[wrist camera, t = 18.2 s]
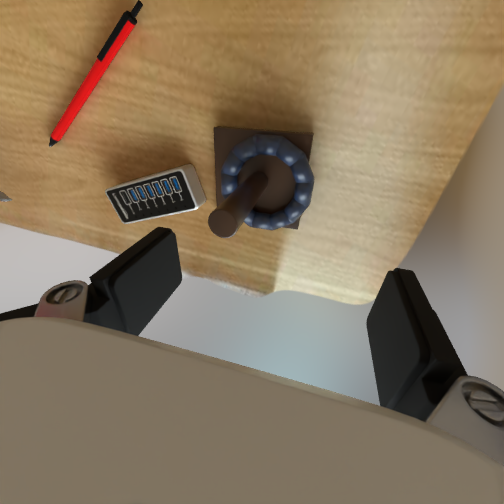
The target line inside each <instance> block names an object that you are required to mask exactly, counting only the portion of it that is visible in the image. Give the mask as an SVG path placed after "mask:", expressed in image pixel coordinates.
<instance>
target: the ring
mask: <svg viewBox="0 0 504 504" xmlns="http://www.w3.org/2000/svg"><path fill="white" fill-rule="evenodd" d="M259 154H261V155H272V156H276V157H278V158H279V159H280V160H282V161H283V162H284V163H286V164H287V165H288V166H290V169H291V171H292V174H293V176H294V179H295V181H296V185H295V192H294V198H293V199H292V200H291V202H290V203H289V204H288V205H287V207H286V208H285V209H283V210H281V211H278V212H275V213H273V214H267V213H259V212H256V211H254V210H253V209H252V210H251V212H250V213H249V215H248V216H247V217H246V219H245V220H244V223H246V224H247V225H249V226H250V227H254V228H261V229H267V230H275V229H278V228H281V227H284V226H286V225H289V224H292V223H294V222H295V221H296V220H297V219H298V218H299V217H300V215H301V214H302V213H303V212H304V211H305V210H306V208H307V207H308V206H309V205H310V202H311V196H312V191H313V185H314V175H313V173H312V170H311V167H310V165H309V162H308V160H307V157H306V155H305V153H304V152H303V151H302V150H301V149H299V148H298V147H297V146H295V145H294V144H293V143H291V142H290V141H289V140H288V139H286V138H285V137H283V136H278V135H264V134H255V135H253V136H251V137H249V138H247V139H246V140H244V141H242V142H240V143H239V144H237V145H235V146H234V147H233V148H232V149H231V151H230V153H229V154H228V156H227V158H226V160H225V162H224V164H223V166H222V168H221V193H222V196H223V198H224V200H225V199H226V198H227V197H228V196H229V195H230V194H231V193H232V192H233V191H234V190H235V189H237V175H238V173H239V171H240V169H241V168H242V166H243V164H244V163H245V161H247V160H249V159H251V158H253V157H255V156H257V155H259Z"/></svg>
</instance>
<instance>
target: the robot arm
mask: <svg viewBox="0 0 504 504" xmlns="http://www.w3.org/2000/svg"><path fill="white" fill-rule="evenodd" d="M89 278H90V280H91V282H92V283H91V284H90V285H87V284H86V283H85V282H83V281H78V280H77V281H76V280H74V281H68V282H64V283H60V284H58V285H56V286H54V287H52V288H51V289H49V290H48V291H46V292H45V293H44V294H43V296H42V297H41V299H40V302H39V303H38V304H34V305H31V306H27V307H24V308H20V309H16V310H12V311H8V312H5V313H1V314H0V504H504V392H503V391H502V390H501V389H499V388H498V387H497V386H495V385H493V384H491V383H490V382H488V381H486V380H483V379H481V378H478V377H474V376H468V375H467V373H466V371H465V369H464V367H463V365H462V363H461V361H460V359H459V357H458V355H457V354H456V351H455V349H454V348H453V345H452V344H451V342H450V340H449V338H448V336H447V334H446V332H445V330H444V328H443V326H442V324H441V322H440V320H439V318H438V316H437V314H436V312H435V311H434V310H433V309H432V307H431V305H430V304H429V301H428V299H427V297H426V295H425V293H424V291H423V289H422V287H421V286H420V283H419V281H418V280H417V278H416V275H415V273H414V272H413V271H411V270H405V269H400V268H395V269H394V270H393V271H388V273H387V275H386V277H385V279H384V282H383V284H382V286H381V288H380V291H379V293H378V295H377V297H376V299H375V302H374V304H373V306H372V309H371V311H370V313H369V315H368V318H367V331H368V337H369V343H370V348H371V354H372V360H373V366H374V372H375V378H376V383H377V389H378V395H379V401H380V406H378V405H375V404H372V403H369V402H365V401H362V400H359V399H355V398H352V397H349V396H346V395H342V394H339V393H336V392H332V391H329V390H325V389H322V388H318V387H315V386H312V385H308V384H305V383H301V382H298V381H294V380H291V379H288V378H284V377H281V376H277V375H274V374H270V373H267V372H263V371H260V370H256V369H253V368H249V367H246V366H242V365H239V364H235V363H232V362H228V361H225V360H221V359H218V358H214V357H210V356H207V355H204V354H200V353H196V352H193V351H189V350H186V349H182V348H179V347H175V346H171V345H168V344H164V343H161V342H157V341H154V340H150V339H146V338H143V337H139V336H138V335H139V334H140V333H141V332H142V330H143V329H144V328H145V327H146V325H147V324H148V323H149V322H150V321H151V319H152V318H153V317H154V316H155V314H156V313H157V312H158V311H159V309H160V308H161V307H162V305H163V304H164V303H165V302H166V301H167V300H168V298H169V297H170V296H171V294H172V293H173V292H174V291H175V289H176V288H177V287H178V286H179V285H180V283H181V281H182V273H181V267H180V261H179V254H178V248H177V242H176V235H175V233H174V232H172V230H171V229H169V228H163V227H157V228H156V229H154V230H153V231H151V232H150V233H149V234H147V235H146V236H145V237H143V238H142V239H141V240H139V241H138V242H137V243H135V244H134V245H132V246H131V247H130V248H128V249H127V250H126V251H124V252H123V253H122V254H120V255H119V256H118V257H116V258H115V259H114V260H112V261H111V262H110V263H108V264H107V265H105V266H104V267H103V268H101V269H100V270H99V271H97V272H96V273H95V274H93V275H92V276H91V277H89Z"/></svg>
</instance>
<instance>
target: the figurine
mask: <svg viewBox="0 0 504 504" xmlns="http://www.w3.org/2000/svg"><path fill="white" fill-rule="evenodd" d="M11 200H12V199H10V198H9V197H8V196H7V195H6V194H4V193H3V192H1V191H0V201H4V202H5V201H11Z"/></svg>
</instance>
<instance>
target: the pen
mask: <svg viewBox="0 0 504 504" xmlns="http://www.w3.org/2000/svg"><path fill="white" fill-rule="evenodd" d="M142 6H143V4H142V3H141V1H140V0H138V1H137V3H136V5H135V6H134V8H133V9H132V11H131V12H129V11H126V12H124V13H123V15H122V17H121V18H120V20H119V22H118V23H117V25H116V27H115V28H114V30H113V31H112V33H111V35H110V36H109V38H108V40H107V41H106V43H105V45H104V46H103V48H102V49H101V51H100V53H99V54H98V56H97V60H96V62H95V63H94V65H93V67H92V68H91V70H90V71H89V73H88V75H87V76H86V78H85V80H84V81H83V83H82V85H81V86H80V88H79V89H78V91H77V93H76V94H75V96H74V98H73V99H72V101H71V103H70V104H69V106H68V107H67V109H66V111H65V112H64V114H63V116H62V117H61V119H60V121H59V122H58V124H57V126H56V127H55V129H54V130H53V132H52V134H51V137H50V143H49V147H51V146H53V145H54V144H56V143H57V142H58V141H60V140H61V138H62V137H63V135H64V134H65V132H66V131H67V129H68V127H69V126H70V124H71V123H72V121H73V120H74V118H75V117H76V115H77V114H78V112H79V111H80V109H81V108H82V106H83V104H84V103H85V101H86V100H87V98H88V97H89V95H90V94H91V92H92V91H93V89H94V88H95V86H96V85H97V83H98V81H99V80H100V78H101V77H102V75H103V74H104V72H105V71H106V69H107V68H108V66H109V65H110V63H111V62H112V60H113V58H114V57H115V55H116V54H117V52H118V51H119V49H120V48H121V46H122V45H123V43H124V42H125V40H126V39H127V37H128V35H129V34H130V32H131V31H132V29H133V28H134V26H135V25H136V23H137V20H136V18H135V17H136V16H137V14H138V12H139V11H140V9H141V8H142Z"/></svg>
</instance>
